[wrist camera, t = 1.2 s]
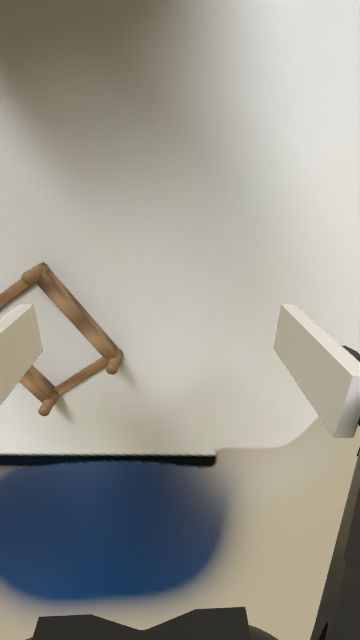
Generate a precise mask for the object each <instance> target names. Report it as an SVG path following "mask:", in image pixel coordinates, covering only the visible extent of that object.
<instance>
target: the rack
mask: <svg viewBox="0 0 360 640" xmlns="http://www.w3.org/2000/svg"><path fill="white" fill-rule="evenodd" d="M34 282H36V284H37V285H38V286H39V287H40V288H41V289H42V290H43V291H44V292H45V293H46V295H47V296H48V297H49V298H50V299H51V300H52V301H53V302H54V303H55V304H56V306H57V307H58V308H59V309H60V310H61V311H62V312H63V313H64V314H65V315H66V317H67V318H68V319H69V320H70V321H71V322H72V323H73V324H74V325H75V326H76V328H77V329H78V330H79V331H80V332H81V333H82V334H83V335H84V336H85V337H86V338H87V340H88V341H89V342H90V343H91V344H92V345H93V346H94V347H95V348H96V349H97V351H98V352H99V353H100V354H101V355H102V356H103V357H102V358H100V359H99V360H97V361H96V362H94V363H93V364H91V365H89V366H88V367H86V368H85V369H83V370H81V371H80V372H78V373H77V374H75V375H74V376H72V377H70V378H69V379H67V380H66V381H64V382H63V383H61V384H59V385H58V386H56V387H55V386H54V385H52V384H51V383H50V382H49V381H48V380H47V379H46V378H45V377H44V376H43V375H42V374H41V373H40V372H39V371H38V370H37V369H36V368H35V367H34V366H33V365H31V367H30V368H29V369H28V371H27V372H26V373H25V375H24V376H23V377H22V378H21V380H20V381H19V382H20V383H21V384H22V385H23V386H24V387H25V388H27V389H28V390H29V391H30V392H31V393H32V394H33V395H34V396H35V397H36V398H38V399H39V400H40V401H41V402H42V403H43V404H42V405H41V407H40V409H39V411H38V412H39V414H40V415H42V416H47V415H48V414H49V413H50V411H51V409H52V407H53V405H55V403H56V401H57V399H58V397H59V395H60V394H62V393H64V392H65V391H67V390H68V389H70V388H72V387H73V386H75V385H76V384H78V383H80V382H81V381H83V380H84V379H86V378H88V377H89V376H91V375H92V374H94V373H96V372H97V371H99V370H100V369H102V368H104V367H105V366H107V365H108V366H107V368H106V371H107V373H109V374H112V375H113V374H116V373H117V370H118V367H119V364H121V360H122V357H123V353H122V351H121V350H120V349H119V348H118V347H117V346H116V345H115V344H114V342H113V341H112V340H111V339H110V338H109V337H108V335H107V334H106V333H105V332H104V331H103V330H102V329H101V327H100V326H99V325H98V324H97V323H96V322H95V321H94V319H93V318H92V317H91V316H90V315H89V314H88V313H87V311H86V310H85V309H84V308H83V307H82V306H81V304H80V303H79V302H78V301H77V300H76V299H75V298H74V296H73V295H72V294H71V293H70V292H69V291H68V290H67V288H66V287H65V286H64V285H63V284H62V283H61V282H60V280H59V279H58V278H57V277H56V276H55V275H54V273H53V272H52V271H51V270H50V269H49V267H48V266H47V265H46V264H45V263H44V262H43V263H41V264H39V265H37V266H36V267H34V268H32V269H30V270H29V271H27V272H25V273H23V274H22V279H20V280H19V281H18V282H16V283H15V284H14V285H12V286H11V287H10V288H8V289H7V290H6V291H4V292H3V293H2V294H0V307H2V306H3V305H4V304H6V303H7V302H9V301H10V300H11V299H13V298H14V297H15V296H17V295H18V294H19V293H21V292H22V291H23V290H25V289H26V288H27V287H29V286H30V285H32V284H33V283H34Z"/></svg>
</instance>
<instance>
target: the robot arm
mask: <svg viewBox="0 0 360 640" xmlns="http://www.w3.org/2000/svg"><path fill="white" fill-rule="evenodd" d="M274 350H275V352H276V353H277V354H278V356H279V357H280V359H281V360H282V362H283V363H284V365H285V366H286V368H287V369H288V371H289V372H290V374H291V375H292V377H293V378H294V380H295V381H296V383H297V384H298V386H299V387H300V389H301V390H302V392H303V393H304V395H305V396H306V397H307V399H308V400H309V402H310V403H311V405H312V406H313V408H314V409H315V411H316V412H317V414H318V415H319V417H320V418H321V420H322V421H323V423H324V424H325V425H326V427H327V429H328V430H329V431H330V433H331V435H332V436H333V437H334V438H350V437H354V435H355V432H356V429H357V427H358V425H359V426H360V354H359V353H358V352H356V351H355V350H353V349H351V348H349V347H347V346H341V345H340V344H339V343H338V342H337V341H336V340H334V339H333V338H332V337H331V336H330V335H329V334H328V333H327V332H325V331H324V330H323V329H322V328H321V327H320V326H319V325H318V324H316V323H315V322H314V321H313V320H312V319H311V318H310V317H309V316H307V315H306V314H305V313H304V312H303V311H302V310H301V309H300V308H299V307H297V306H296V305H295V304H281V309H280V315H279V320H278V326H277V332H276V338H275V344H274ZM42 351H43V349H42V344H41V339H40V334H39V329H38V324H37V319H36V314H35V309H34V305H17V306H16V307H15V308H13V309H12V310H11V311H10V312H8V313H7V314H6V315H4V316H3V317H2V318H1V319H0V406H1V405H2V403H3V402H4V401H5V399H6V398H7V397H8V395H9V394H10V393H11V391H12V390H13V389H14V388H15V386H16V385H17V384H18V382H19V381H20V380H21V378H22V377H23V376H24V375H25V373H26V372H27V371H28V369H29V368H30V367H31V365H32V364H33V363H34V361H35V360H36V359H37V358H38V356H39V355H40V354H41V352H42ZM357 456H358V459H357V463H356V467H355V471H354V475H353V479H352V483H351V486H350V490H349V494H348V498H347V502H346V506H345V509H344V513H343V517H342V521H341V525H340V529H339V533H338V537H337V540H336V545H335V548H334V552H333V556H332V560H331V564H330V568H329V571H328V575H327V580H326V583H325V587H324V591H323V595H322V599H321V602H320V606H319V610H318V614H317V618H316V622H315V625H314V629H313V632H312V635H311V638H310V640H360V448H359V451H358V454H357ZM26 640H278V639H277V638H275V637H274V636H272V635H271V634H269V633H267V632H265V631H263V630H261V629H259V628H256V627H253V626H250V625H248V620H247V614H246V609H245V607H234V608H213V609H195V610H193V611H191V612H188V613H186V614H183V615H181V616H178V617H176V618H174V619H171V620H169V621H166V622H164V623H162V624H159V625H157V626H154V627H152V628H150V629H147V630H137V629H134V628H131V627H128V626H125V625H121V624H118V623H116V622H112V621H109V620H106V619H103V618H100V617H97V616H94V615H69V616H49V617H39V619H38V622H37V625H36V629H35V632H34V635H33V637H31V638H29V639H26Z"/></svg>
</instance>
